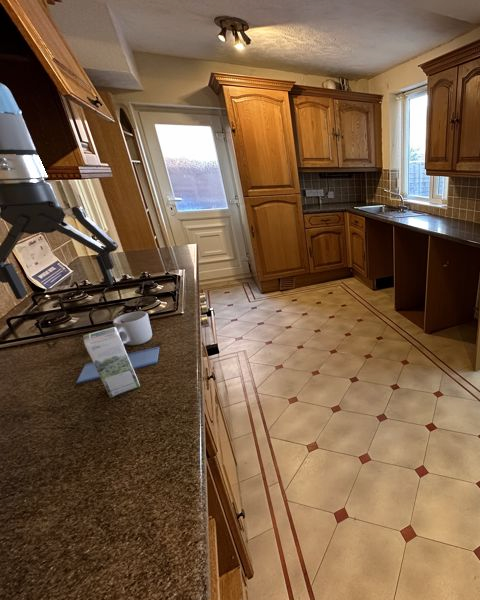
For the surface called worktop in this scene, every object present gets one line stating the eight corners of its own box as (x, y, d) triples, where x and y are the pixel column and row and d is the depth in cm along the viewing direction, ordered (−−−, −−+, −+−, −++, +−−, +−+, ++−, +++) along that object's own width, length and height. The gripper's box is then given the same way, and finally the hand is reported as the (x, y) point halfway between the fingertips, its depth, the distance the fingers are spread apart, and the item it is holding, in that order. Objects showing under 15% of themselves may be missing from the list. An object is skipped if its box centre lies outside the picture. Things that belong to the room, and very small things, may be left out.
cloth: (76, 384, 77) (75, 382, 77) (85, 365, 84) (85, 364, 84) (157, 363, 85) (156, 362, 84) (159, 347, 92) (158, 346, 92)
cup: (135, 353, 89) (125, 328, 86) (107, 354, 89) (95, 328, 86) (162, 334, 99) (153, 310, 96) (136, 334, 99) (127, 311, 96)
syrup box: (137, 376, 80) (115, 325, 74) (141, 387, 76) (118, 334, 70) (107, 387, 76) (82, 333, 70) (110, 399, 72) (83, 344, 66)
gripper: (-107, 185, 49) (-31, 310, 58) (104, 180, 61) (141, 284, 70) (-75, 182, 55) (-11, 296, 64) (111, 177, 67) (144, 274, 75)
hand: (68, 290), depth 67 cm, fingers open, 13 cm apart
